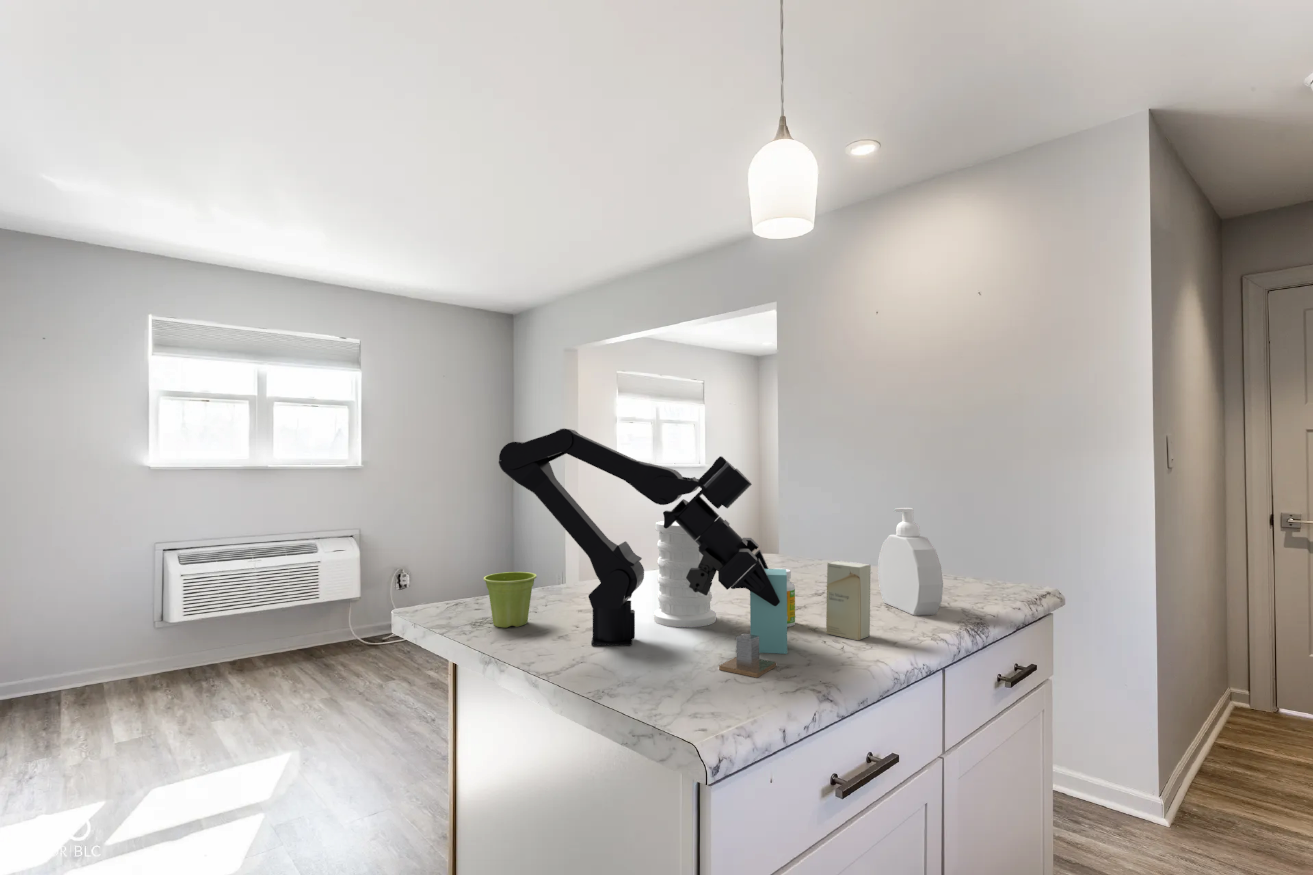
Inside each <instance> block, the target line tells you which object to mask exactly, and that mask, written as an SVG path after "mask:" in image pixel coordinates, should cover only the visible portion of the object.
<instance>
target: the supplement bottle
mask: <svg viewBox="0 0 1313 875" xmlns="http://www.w3.org/2000/svg"><path fill="white" fill-rule="evenodd" d="M775 569H781V567H780V568H775ZM785 569H786V574H787V628H788V627H789V628H790V627H793V626H795V624H796V586H795V583H793V582H792V581H790V579H791V578H792V571H791V570H790V569H787V568H785Z"/></svg>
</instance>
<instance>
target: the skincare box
mask: <svg viewBox="0 0 1313 875" xmlns="http://www.w3.org/2000/svg"><path fill="white" fill-rule="evenodd" d="M826 566H827V570H826V618H825V619H826V620H825V622H826V625H825V627H826V628H825V629H826V630H825V633H826V635H827V634H828V635H832V636H836V637H841V638H845V639H848V640H849V639H850V640H853V641H861V640H863V639H866V638H867V637H870V636H871V635H870V634H871V633H870V632H871V570H872V569H871V564H868V563H861V562H854V561H853V562H852V561H846V560H834V561H829V562H827V563H826Z"/></svg>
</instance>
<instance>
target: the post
mask: <svg viewBox="0 0 1313 875" xmlns="http://www.w3.org/2000/svg"><path fill="white" fill-rule="evenodd" d="M735 640H736V641H735V642H736V643H735V644H736V649H735V650H736V651H735V652H736V655H735V657H733V658H731V659H729V660H727V661H725V662H723V663H721V664H720V665H718V668H719V669H718V670H719V671H724V672H729V673H734V674H737V675H742V676H747V677H753V678H759V677H761V676H762V675H765V674H766V673H768V672H769V671H771V670H773V669H774V668H776V667H777V662H776V661H772V660H766V659H761V658H760V652H759V636H757V635H751V634H750V633H745V632H744V633H741V634H740V635H738V636H736V637H735Z"/></svg>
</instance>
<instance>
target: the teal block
mask: <svg viewBox="0 0 1313 875" xmlns="http://www.w3.org/2000/svg"><path fill="white" fill-rule="evenodd" d="M786 569H787V568H780V569H776V568H769V569H765V571H766V573H767V575H768V577H769V580H770V582H771V584H772V586H773V588H774V590H775V592H776V594H777V596H778V598H779V600H780V603H779V604H778V605H777V606H773V605H772V604H770V603H769V602H767V601H765V600H764V599H762V598H761V597H759V596H758V595H756V594H754V593H753V592H751V591H749V603H750V604H749V606H750V608H749V611H750V612H749V614H750V618H749V619H750V620H749V621H750V624H749V625H750V633H749V634H751V635H757V636H759V654H761V653H762V654H781V655H782V654H785V655H787V654H788V627H787V574H786Z"/></svg>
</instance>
